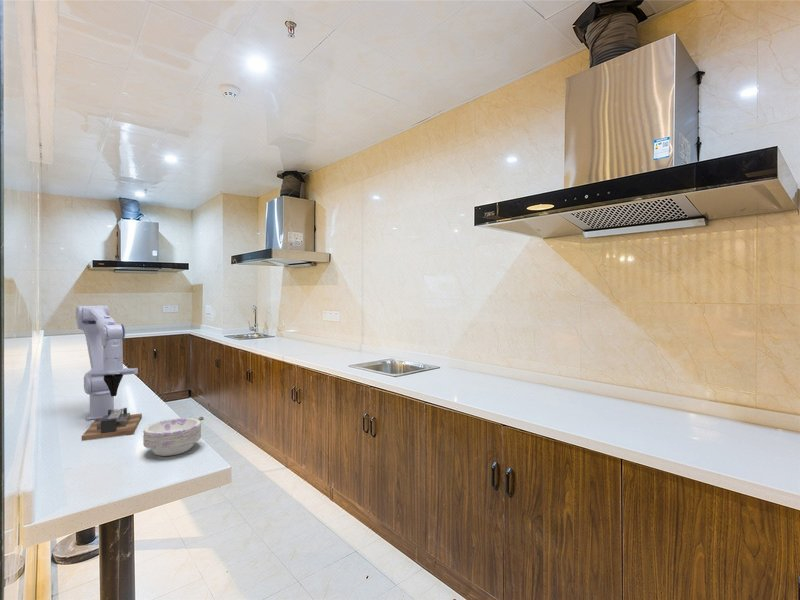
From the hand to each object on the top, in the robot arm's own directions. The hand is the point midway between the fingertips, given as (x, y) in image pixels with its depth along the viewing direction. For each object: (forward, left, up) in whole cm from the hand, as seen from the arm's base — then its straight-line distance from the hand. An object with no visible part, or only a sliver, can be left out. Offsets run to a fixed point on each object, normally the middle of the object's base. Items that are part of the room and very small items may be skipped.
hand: (113, 395), depth 145 cm
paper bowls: (+36, +21, -11) cm, 43 cm away
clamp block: (+6, +1, -9) cm, 11 cm away
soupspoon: (+17, +25, -11) cm, 32 cm away
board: (+5, +1, -10) cm, 11 cm away
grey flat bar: (+5, +1, -7) cm, 8 cm away
